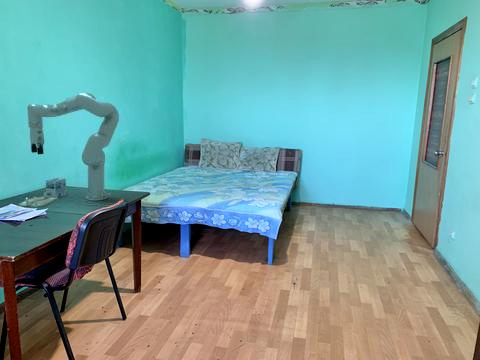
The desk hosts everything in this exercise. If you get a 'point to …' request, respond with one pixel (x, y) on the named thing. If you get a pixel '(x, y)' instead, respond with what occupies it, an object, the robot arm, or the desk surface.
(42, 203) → the locator board
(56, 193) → the light bulb box
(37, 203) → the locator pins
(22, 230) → the desk surface
